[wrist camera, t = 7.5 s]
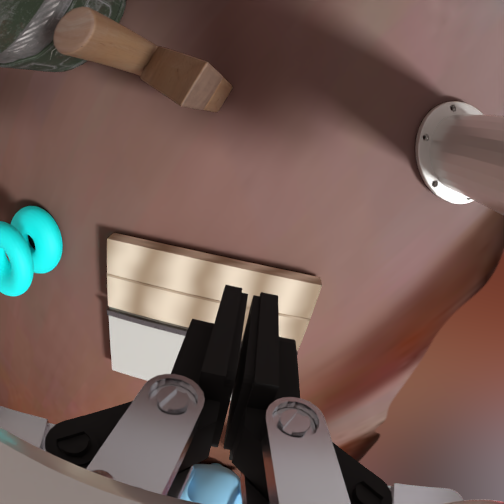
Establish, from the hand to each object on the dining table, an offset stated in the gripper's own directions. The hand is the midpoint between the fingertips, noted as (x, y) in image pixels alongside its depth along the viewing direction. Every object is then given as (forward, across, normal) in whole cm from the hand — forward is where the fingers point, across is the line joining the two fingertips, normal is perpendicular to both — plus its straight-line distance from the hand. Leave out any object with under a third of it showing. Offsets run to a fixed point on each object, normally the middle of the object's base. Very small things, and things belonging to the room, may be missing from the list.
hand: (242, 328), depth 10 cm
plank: (+27, +4, +15) cm, 31 cm away
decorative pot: (+27, -2, +62) cm, 68 cm away
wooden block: (+27, +11, -10) cm, 31 cm away
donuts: (+27, +30, +13) cm, 43 cm away
